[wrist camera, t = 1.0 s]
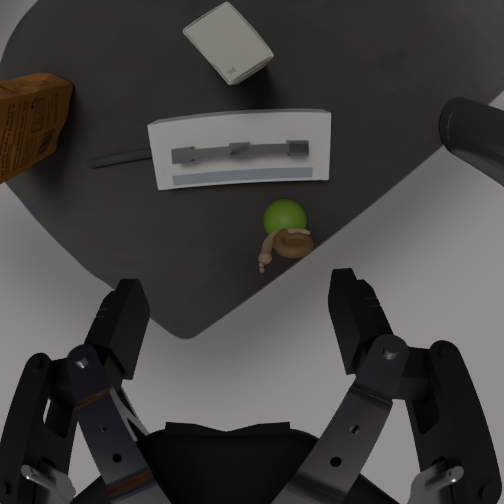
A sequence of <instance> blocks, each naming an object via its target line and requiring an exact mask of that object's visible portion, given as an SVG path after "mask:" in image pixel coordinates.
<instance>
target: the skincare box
mask: <svg viewBox="0 0 504 504" xmlns="http://www.w3.org/2000/svg"><path fill="white" fill-rule="evenodd" d="M183 33H184V34H185V35H186V36H187V37H188V39H189V40H190V41H191V42H192V43H193V44H194V45H195V47H196V48H197V49H198V50H199V51H200V52H201V53H202V54H203V56H204V57H205V58H206V59H207V60H208V61H209V62H210V64H211V65H212V66H213V67H214V68H215V69H216V70H217V72H218V73H219V74H220V75H221V76H222V77H223V79H224V80H225V81H226V82H227V83H228V84H229V85H234V84H239V83H240V82H242V81H243V80H245V79H247V78H248V77H250V76H251V75H253V74H254V73H256V72H257V71H259V70H260V69H262V68H263V67H265V66H266V65H267V64H268V62H269V61H270V60H271V59H272V57H273V56H274V55H273V53H272V51H271V50H270V48H269V47H268V46H267V44H266V43H265V42H264V40H263V39H262V38H261V37H260V35H259V34H258V33H257V32H256V31H255V30H254V28H253V27H252V26H251V25H250V24H249V23H248V22H247V21H246V19H245V18H244V17H243V16H242V15H241V14H240V13H239V12H238V11H237V10H236V9H235V8H234V7H233V6H232V5H231V4H230V3H229V2H225V3H223V4H221V5H220V6H218V7H216V8H214V9H213V10H211V11H209V12H208V13H206V14H205V15H203V16H202V17H200V18H199V19H197V20H196V21H194V22H193V23H191V24H190V25H188V26H187V27H186V28H184V29H183Z"/></svg>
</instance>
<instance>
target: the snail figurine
mask: <svg viewBox="0 0 504 504" xmlns="http://www.w3.org/2000/svg"><path fill="white" fill-rule="evenodd" d="M306 224H307V217H306V213H305V211H304V209H303V207H302V206H301V205H300V204H299V203H297V202H296V201H294V200H291V199H279V200H276V201H274V202H273V203H271V204H270V205H269V206H268V208H267V209H266V211H265V214H264V226H265V229H266V231H267V232H268V234H269V235H268V236H267V237H266V239H265V240H264V242H263V245H262V248H261V253H260V254H259V258H258V260H259V262H260V263H259V267H261V268H260V272H261V273H263V272H264V271H265V269H264V268H263V267H264V264H268V263H269V262H270V261H271V260H272V256H271V251H272V248H274V250H275V251H276V252H277V253H278V254H279V255H281V256H283V257H287V258H300V257H303V256H306V255H308V254H309V253H310V252H311V251H312V250H313V247H314V242H313V239H312V238H311V237H310V236H308V235H309V234H310V231H308V230H306V229H305V228H306Z"/></svg>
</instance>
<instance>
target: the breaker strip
mask: <svg viewBox="0 0 504 504" xmlns="http://www.w3.org/2000/svg"><path fill="white" fill-rule="evenodd" d="M148 132H149V138H150V145H151V148H150V149H144V150H138V151H132V152H126V153H121V154H116V155H110V156H105V157H101V158H96V159H91V160H89V161H88V167H89V168H96V167H101V166H106V165H111V164H116V163H122V162H128V161H134V160H140V159H146V158H153V162H154V168H155V174H156V179H157V184H158V189H159V190H164V189H174V188H184V187H194V186H206V185H218V184H232V183H249V182H268V181H295V180H329V160H330V133H331V113H330V112H328V111H325V110H323V109H260V110H241V111H227V112H215V113H206V114H197V115H188V116H181V117H174V118H167V119H161V120H156V121H154V122H152V123H151V124H149V125H148ZM286 140H309V156H289V155H287V153H278V154H254V155H250V158H236V159H230V156H223V157H211V158H200V159H195V161H193V162H189V163H180V164H172V155H171V149H176V148H183V147H192V146H194V149H202V148H212V147H224V146H229V143H237V142H249V145H255V144H282V143H286Z"/></svg>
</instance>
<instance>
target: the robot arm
mask: <svg viewBox="0 0 504 504" xmlns="http://www.w3.org/2000/svg"><path fill="white" fill-rule="evenodd" d="M440 136H441V139H442V142H443V144H444V146H445V147H446V149H447V150H448V151H449V152H450V153H452V154H453V155H455V156H457V157H459V158H460V159H462V160H464V161H465V162H467V163H468V164H470V165H472V166H474V167H475V168H477V169H478V170H480V171H481V172H483V173H484V174H486V175H487V176H489V177H491V178H492V179H493V180H495V181H497V182H498V183H499V184H501V185H502V186H504V111H503V110H500V109H497V108H495V107H491V106H489V105H486V104H482V103H479V102H476V101H473V100H469V99H466V98H455V99H453V100H451V101H449V103H448V104H447V105H446V106H445V108H444V109H443V112H442V114H441V118H440ZM328 307H329V313H330V316H331V320H332V323H333V326H334V330H335V334H336V337H337V341H338V344H339V348H340V352H341V356H342V360H343V363H344V367H345V371H346V375H349V374H355V375H356V378H355V380H354V382H353V384H352V385H351V387H350V388H349V390H348V392H347V394H346V395H345V397H344V399H343V401H342V403H341V405H340V406H339V408H338V410H337V411H336V413H335V415H334V416H333V418H332V420H331V421H330V423H329V424H328V426H327V428H326V429H325V431H324V432H323V434H322V436H321V437H320V439H319V438H317V437H315V436H313V435H311V434H309V433H306V432H304V431H300V430H296V429H290V422H280V423H267V424H266V423H265V424H256V425H252V426H248V427H244V428H241V429H236V430H232V431H227V432H225V431H220V430H216V429H212V428H208V427H204V426H201V425H197V424H189V423H173V422H166V426H165V429H163V430H159V431H156V432H153V433H151V434H149V432H148V431H147V430H146V428H145V427H144V426H143V424H142V423H141V421H140V420H139V418H138V416H137V414H136V412H135V411H134V409H133V407H132V405H131V403H130V401H129V400H128V397H127V395H126V393H125V391H124V389H123V388H122V386H121V384H122V380H123V379H126V380H132V379H133V375H134V371H135V367H136V364H137V360H138V356H139V352H140V349H141V345H142V342H143V338H144V334H145V331H146V328H147V324H148V321H149V317H150V308H149V304H148V301H147V299H146V296H145V293H144V291H143V288H142V285H141V282H140V280H139V279H121V280H120V282H119V284H118V286H117V288H116V290H115V291H111V292H110V293H109V294H108V295H107V296H106V297H105V298H104V299H103V302H102V304H101V306H100V308H99V310H98V312H97V314H96V318H95V319H94V321H93V323H92V326H91V328H90V330H89V332H88V335H87V337H86V339H85V342H84V344H82V345H79V346H77V347H75V348H74V349H72V350H71V351H70V352H69V354H68V356H67V358H63V359H58V360H53V361H51V359H50V358H49V357H48V356H47V355H46V354H44V353H37V354H35V355H33V356H32V357H30V359H29V360H28V361H27V363H26V365H25V368H24V370H23V373H22V375H21V378H20V380H19V383H18V386H17V388H16V391H15V395H14V397H13V400H12V403H11V406H10V409H9V413H8V416H7V419H6V423H5V426H4V430H3V434H2V437H1V441H0V503H1V504H399V503H398V502H397V501H395V500H394V499H393V498H392V497H390V496H389V495H387V494H386V493H385V492H384V491H382V490H381V489H380V488H378V487H377V486H376V485H374V484H373V483H372V482H370V481H369V480H368V479H367V478H366V477H364V476H363V475H362V474H361V473H360V471H361V469H362V468H363V466H364V464H365V462H366V460H367V458H368V457H369V455H370V453H371V451H372V449H373V447H374V445H375V443H376V441H377V439H378V437H379V435H380V433H381V431H382V428H383V426H384V424H385V422H386V420H387V418H388V415H389V413H390V410H391V408H392V405H393V402H392V399H401V400H405V403H406V407H407V410H408V414H409V419H410V423H411V427H412V432H413V436H414V441H415V446H416V450H417V456H418V461H419V467H420V473H419V474H418V475H417V476H416V477H415V479H414V480H413V482H412V485H411V495H410V499H409V501H408V503H407V504H497V502H498V500H499V498H500V496H501V492H502V482H501V477H500V472H499V467H498V463H497V459H496V455H495V451H494V447H493V443H492V439H491V436H490V432H489V429H488V426H487V422H486V419H485V416H484V413H483V410H482V407H481V404H480V401H479V399H478V396H477V393H476V390H475V388H474V385H473V383H472V380H471V378H470V375H469V372H468V370H467V368H466V365H465V363H464V361H463V358H462V356H461V354H460V352H459V350H458V348H457V347H456V346H455V345H454V344H452V343H451V342H448V341H445V340H439V341H437V342H435V343H433V344H432V346H431V347H430V349H423V348H414V347H409V346H407V344H406V343H405V341H404V340H403V339H401V338H400V337H398V336H395V335H394V334H393V332H392V329H391V327H390V325H389V323H388V320H387V318H386V316H385V314H384V311H383V309H382V307H381V306H380V303H379V301H378V299H377V296H376V294H375V292H374V290H373V288H372V287H371V286H370V285H369V284H368V283H367V282H366V281H365V280H364V279H363V280H357V279H356V276H355V274H354V272H353V270H352V269H351V268H344V269H333V271H332V275H331V282H330V289H329V295H328ZM48 399H49V400H51V402H50V406H49V409H48V413H47V417H46V421H45V424H44V421H43V415H44V411H45V408H46V404H47V401H48ZM77 421H78V422H79V425H80V428H81V430H82V433H83V435H84V438H85V440H86V443H87V445H88V447H89V450H90V452H91V455H92V457H93V459H94V461H95V463H96V466H97V468H98V470H99V472H100V474H101V475H100V476H99V477H98V478H97V479H96V480H95V481H94V482H93V483H91V484H90V485H89V486H88V487H87V488H85V489H84V490H83V491H82V492H81V493H80V494H78V495H77V496H76V497H75V498H74V495H75V493H76V491H75V488H74V487H73V486H72V483H71V480H70V479H69V477H68V471H69V464H70V457H71V452H72V446H73V441H74V435H75V431H76V426H77Z"/></svg>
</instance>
